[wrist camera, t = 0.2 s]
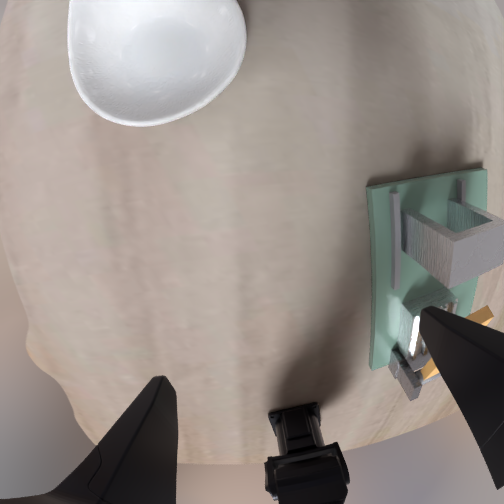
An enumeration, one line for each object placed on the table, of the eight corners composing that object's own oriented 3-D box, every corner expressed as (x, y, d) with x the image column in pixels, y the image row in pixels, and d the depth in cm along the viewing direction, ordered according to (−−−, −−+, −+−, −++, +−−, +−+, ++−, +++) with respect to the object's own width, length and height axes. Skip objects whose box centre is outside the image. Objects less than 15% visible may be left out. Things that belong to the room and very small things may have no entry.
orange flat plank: (441, 361, 25) (446, 373, 24) (411, 375, 25) (416, 388, 24) (488, 300, 17) (498, 317, 16) (454, 318, 17) (464, 337, 16)
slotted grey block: (437, 328, 27) (450, 343, 24) (396, 345, 27) (408, 362, 25) (445, 286, 25) (460, 300, 22) (401, 303, 25) (416, 320, 22)
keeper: (453, 232, 22) (502, 263, 16) (400, 248, 22) (448, 289, 16) (454, 197, 21) (509, 222, 14) (399, 210, 21) (454, 242, 14)
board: (461, 325, 29) (468, 332, 28) (368, 364, 30) (373, 374, 28) (480, 167, 21) (491, 171, 19) (366, 187, 21) (375, 191, 20)
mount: (436, 346, 29) (459, 377, 23) (388, 367, 29) (408, 403, 23) (441, 328, 27) (467, 359, 22) (391, 349, 28) (414, 386, 22)
